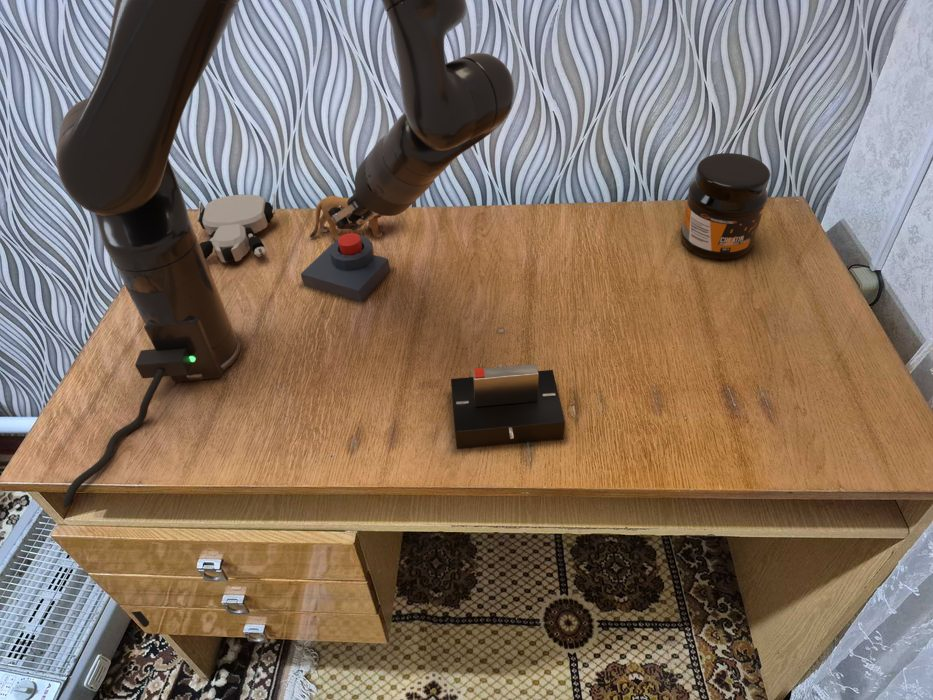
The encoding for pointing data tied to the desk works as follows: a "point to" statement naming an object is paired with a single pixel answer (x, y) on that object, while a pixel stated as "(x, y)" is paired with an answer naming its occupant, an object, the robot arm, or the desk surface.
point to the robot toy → (235, 225)
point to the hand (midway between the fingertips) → (351, 223)
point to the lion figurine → (325, 207)
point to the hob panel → (507, 416)
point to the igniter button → (350, 244)
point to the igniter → (346, 271)
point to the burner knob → (505, 385)
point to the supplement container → (725, 205)
